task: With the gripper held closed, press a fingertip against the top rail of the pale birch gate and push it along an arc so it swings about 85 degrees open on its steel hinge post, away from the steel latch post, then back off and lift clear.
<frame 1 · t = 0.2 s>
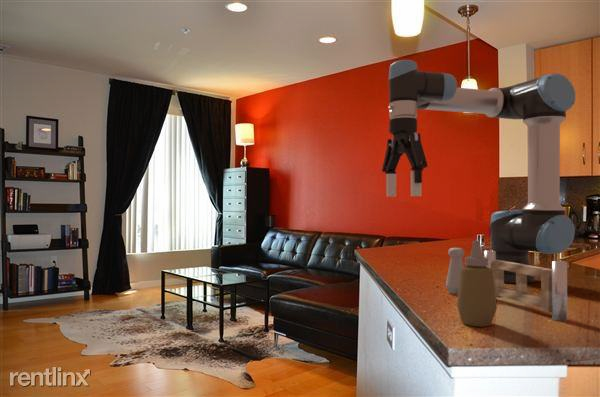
hand: (403, 196, 123), 28 cm above the countertop, tool pointing down, fingers open, 13 cm apart
squeeze bottle: (476, 324, 98), on the countertop
gate: (521, 284, 112), point 6 cm above the countertop, hinge at 0.0°
salt shaker: (456, 294, 129), on the countertop
gateposts: (489, 298, 122), on the countertop
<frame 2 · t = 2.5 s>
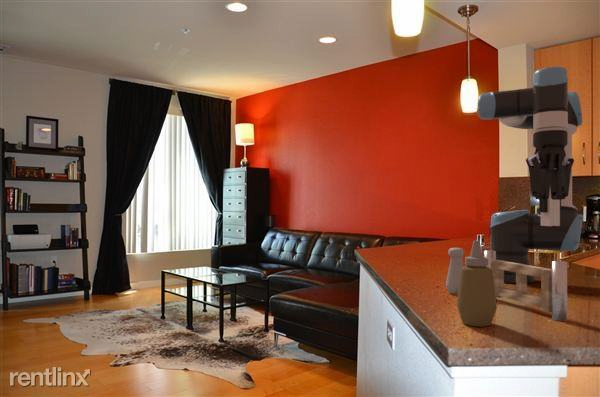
hand: (550, 225, 112), 20 cm above the countertop, tool pointing down, fingers closed
nothing on the countertop moved.
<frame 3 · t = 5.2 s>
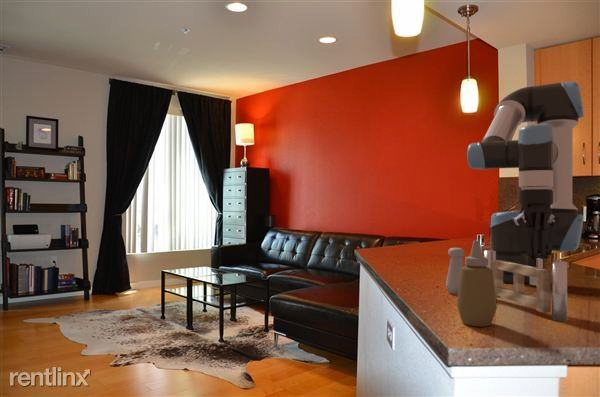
hand: (536, 284, 110), 6 cm above the countertop, tool pointing down, fingers closed
gate: (518, 284, 111), point 6 cm above the countertop, hinge at -4.0°, touching gripper
everything else where it was.
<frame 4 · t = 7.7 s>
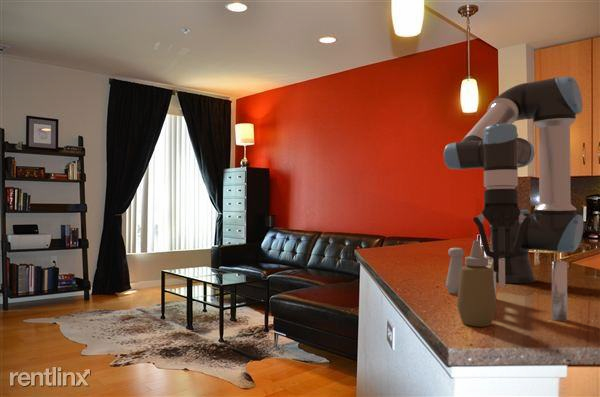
hand: (501, 285, 109), 6 cm above the countertop, tool pointing down, fingers closed
gate: (487, 283, 112), point 6 cm above the countertop, hinge at -43.8°, touching gripper
everything else where it was.
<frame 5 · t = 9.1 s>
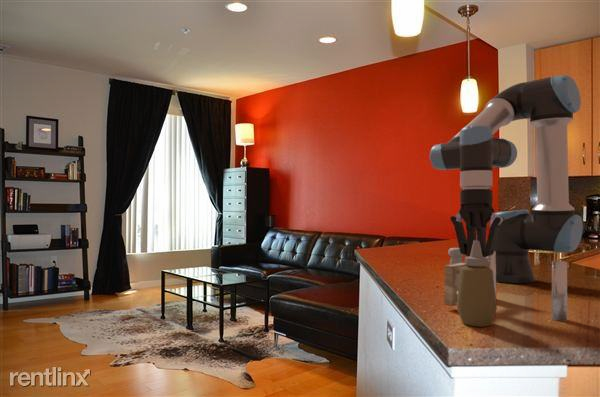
hand: (476, 283, 111), 6 cm above the countertop, tool pointing down, fingers closed
gate: (468, 281, 115), point 6 cm above the countertop, hinge at -68.6°, touching gripper
everything else where it was.
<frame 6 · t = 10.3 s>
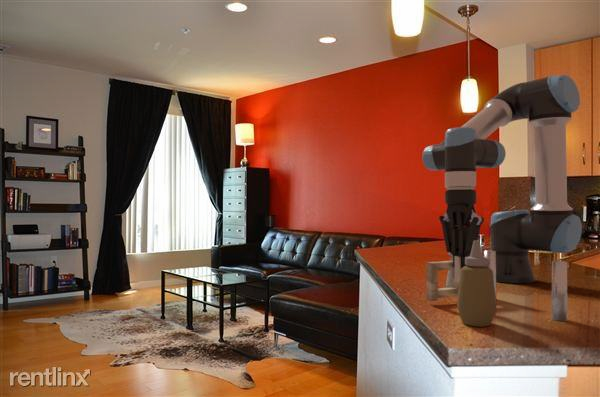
hand: (460, 281, 114), 6 cm above the countertop, tool pointing down, fingers closed
gate: (457, 279, 118), point 6 cm above the countertop, hinge at -86.8°, touching gripper
everything else where it was.
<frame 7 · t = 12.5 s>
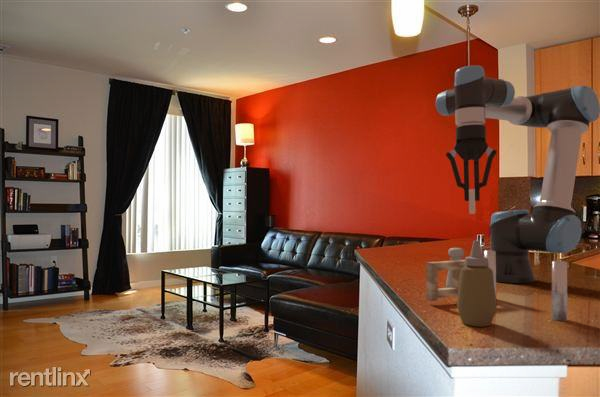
hand: (472, 213, 121), 23 cm above the countertop, tool pointing down, fingers closed
gate: (457, 279, 118), point 6 cm above the countertop, hinge at -86.9°
everything else where it was.
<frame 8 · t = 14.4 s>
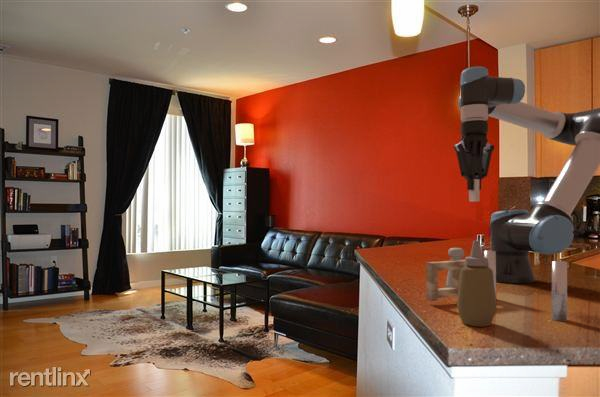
hand: (474, 201, 133), 26 cm above the countertop, tool pointing down, fingers closed
nothing on the countertop moved.
at the end: gate at -87° (first picture: +0°); squeeze bottle moved 0.2 cm from its start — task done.
